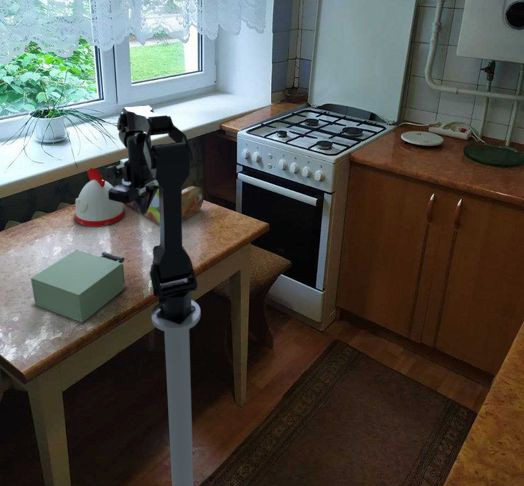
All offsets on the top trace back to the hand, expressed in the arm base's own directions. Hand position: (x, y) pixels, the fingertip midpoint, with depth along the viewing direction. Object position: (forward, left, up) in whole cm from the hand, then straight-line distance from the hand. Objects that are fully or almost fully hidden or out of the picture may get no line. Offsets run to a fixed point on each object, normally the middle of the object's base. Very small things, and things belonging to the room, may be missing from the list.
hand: (143, 213), depth 127 cm
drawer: (+2, +18, -11) cm, 21 cm away
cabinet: (+2, +22, -12) cm, 25 cm away
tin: (+3, -24, -12) cm, 27 cm away
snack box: (+15, -21, -12) cm, 29 cm away
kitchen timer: (+26, -12, -12) cm, 31 cm away
